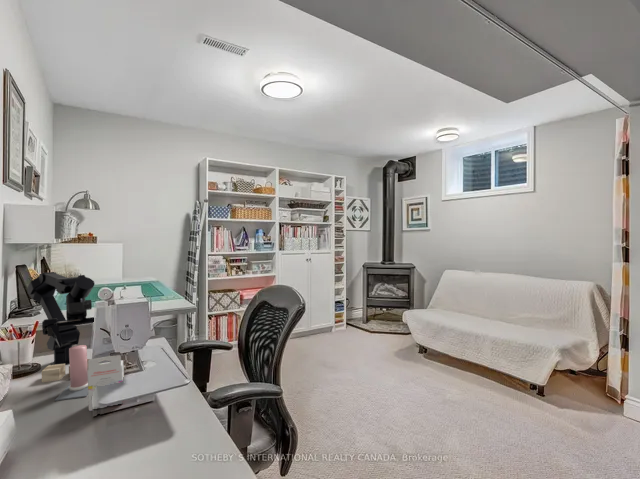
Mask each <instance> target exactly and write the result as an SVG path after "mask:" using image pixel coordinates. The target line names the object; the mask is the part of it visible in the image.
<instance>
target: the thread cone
mask: <svg viewBox="0 0 640 479" xmlns="http://www.w3.org/2000/svg"><path fill="white" fill-rule="evenodd" d="M87 348H88V347H87V345H86V344H81V345H78V344H77V345H75V346H74V345H73V346H72V347H71V348H69V361H70V364H69V366H70V377H69V380H70V382H69V384H70V386H69V390H70V391H78V390H82V389H85V388H87V387H88V372H87V371H88V368H87V359H88V351H87V350H88V349H87Z"/></svg>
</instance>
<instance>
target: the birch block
mask: <svg viewBox="0 0 640 479" xmlns="http://www.w3.org/2000/svg"><path fill="white" fill-rule="evenodd" d="M65 375H66V364H57V365H50V364H49V365H47V366H46V367H45V368H44V369H42V370H41V383H48V382H55V381H60V380H62V378H63V377H65Z"/></svg>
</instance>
